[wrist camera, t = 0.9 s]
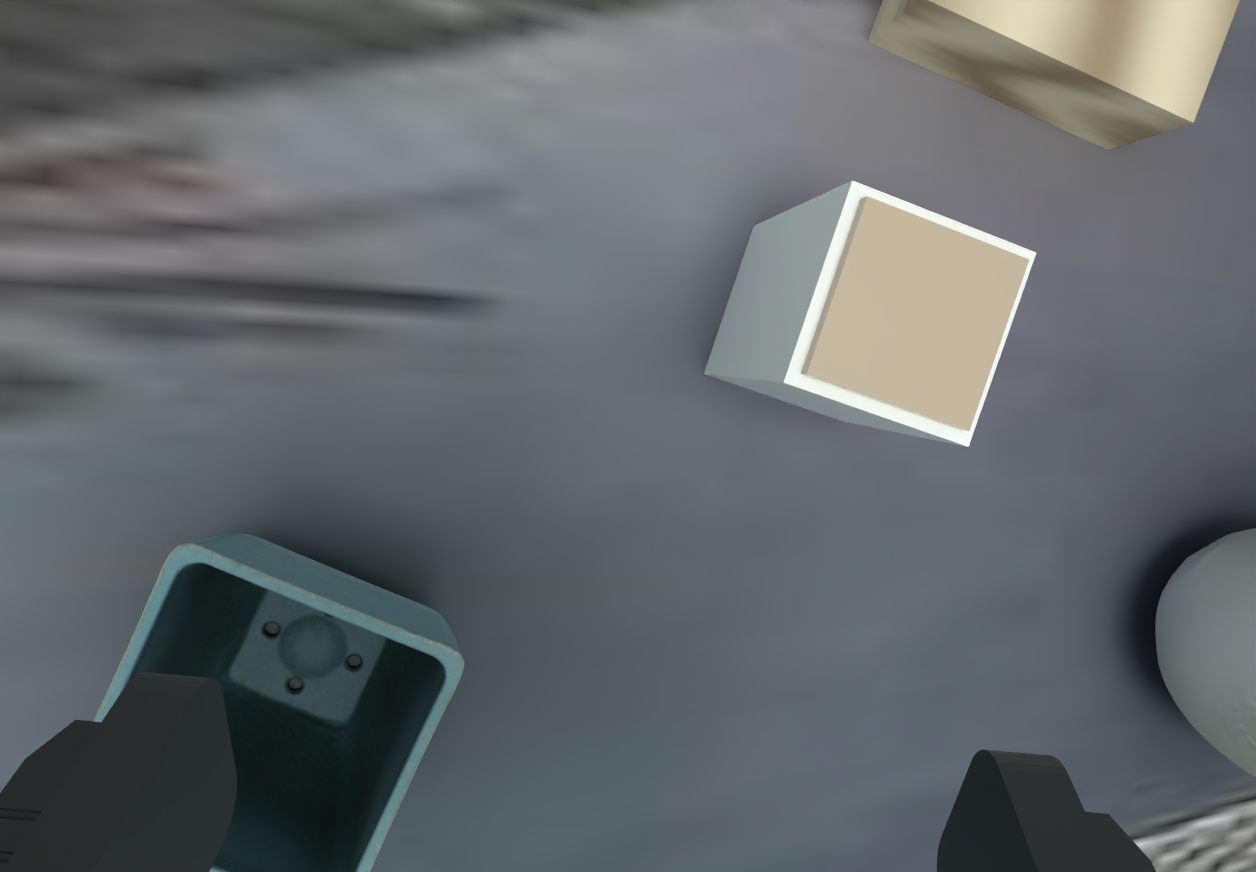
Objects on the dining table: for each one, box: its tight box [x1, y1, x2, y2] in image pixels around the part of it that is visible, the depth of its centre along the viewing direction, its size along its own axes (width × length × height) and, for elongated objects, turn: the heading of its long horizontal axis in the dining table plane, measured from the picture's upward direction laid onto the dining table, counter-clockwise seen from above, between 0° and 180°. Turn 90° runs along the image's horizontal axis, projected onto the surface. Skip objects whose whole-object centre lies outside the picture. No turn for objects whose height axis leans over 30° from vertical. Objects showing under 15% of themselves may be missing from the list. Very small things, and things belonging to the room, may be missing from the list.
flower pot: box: [93, 532, 465, 872], centre depth 31 cm, size 9×9×9 cm
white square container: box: [704, 181, 1036, 447], centre depth 32 cm, size 6×6×10 cm
